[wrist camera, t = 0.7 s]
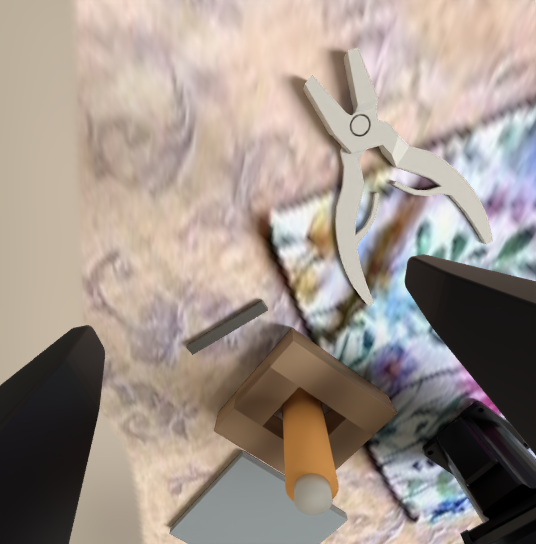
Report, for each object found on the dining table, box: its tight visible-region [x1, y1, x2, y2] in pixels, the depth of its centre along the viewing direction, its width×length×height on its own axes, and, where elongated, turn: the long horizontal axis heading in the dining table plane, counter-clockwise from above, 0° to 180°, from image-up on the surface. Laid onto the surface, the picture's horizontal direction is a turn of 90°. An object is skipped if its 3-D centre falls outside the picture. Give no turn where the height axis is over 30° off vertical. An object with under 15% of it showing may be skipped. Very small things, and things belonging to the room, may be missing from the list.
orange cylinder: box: [283, 388, 338, 515], centre depth 21 cm, size 3×3×8 cm
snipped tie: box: [187, 300, 268, 355], centre depth 23 cm, size 7×1×1 cm, turn 123°
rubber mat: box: [169, 451, 347, 544], centre depth 29 cm, size 12×12×1 cm
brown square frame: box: [214, 328, 397, 474], centre depth 24 cm, size 10×10×2 cm
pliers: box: [303, 48, 493, 306], centre depth 20 cm, size 10×2×15 cm
